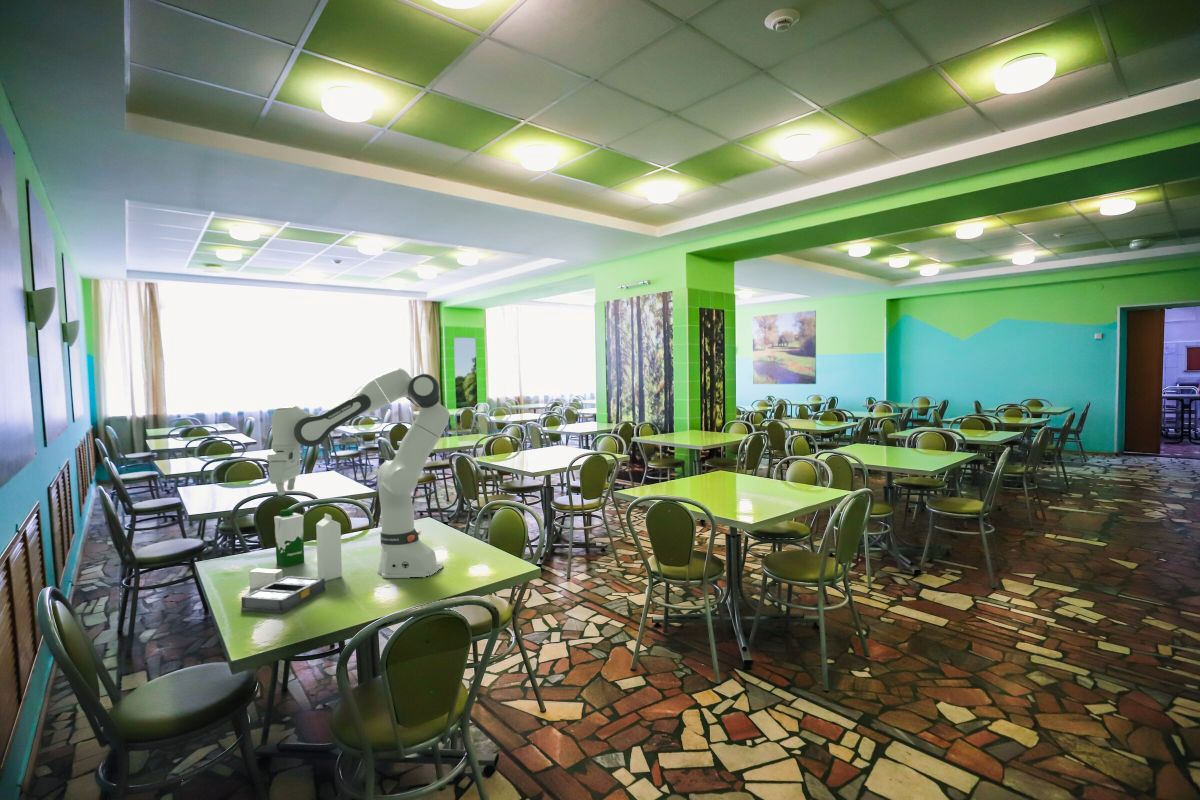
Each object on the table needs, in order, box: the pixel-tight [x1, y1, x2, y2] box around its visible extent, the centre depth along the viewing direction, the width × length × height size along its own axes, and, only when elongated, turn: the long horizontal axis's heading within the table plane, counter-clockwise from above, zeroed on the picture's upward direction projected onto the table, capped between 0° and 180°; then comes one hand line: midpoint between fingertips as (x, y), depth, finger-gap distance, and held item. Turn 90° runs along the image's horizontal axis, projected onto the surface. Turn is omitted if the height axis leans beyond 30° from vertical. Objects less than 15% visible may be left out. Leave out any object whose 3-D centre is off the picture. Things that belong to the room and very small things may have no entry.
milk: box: [315, 513, 343, 582], centre depth 197 cm, size 6×6×22 cm
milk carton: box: [273, 508, 305, 568], centre depth 213 cm, size 9×9×20 cm
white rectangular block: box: [248, 567, 284, 590], centre depth 187 cm, size 10×3×6 cm, turn 79°
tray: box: [240, 575, 326, 615], centre depth 177 cm, size 15×19×4 cm
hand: (286, 492), depth 196 cm, fingers open, 8 cm apart
